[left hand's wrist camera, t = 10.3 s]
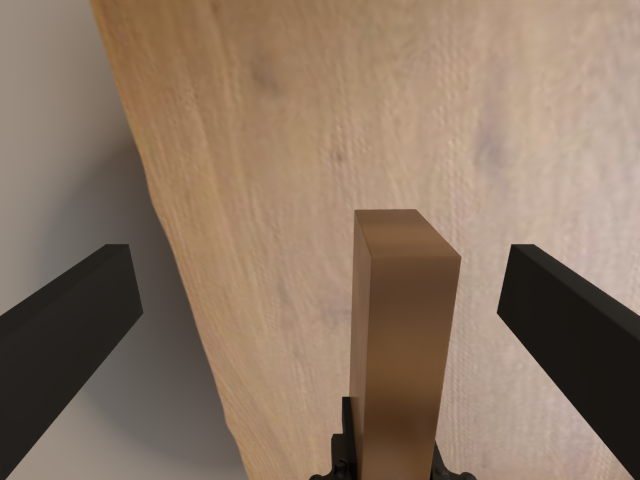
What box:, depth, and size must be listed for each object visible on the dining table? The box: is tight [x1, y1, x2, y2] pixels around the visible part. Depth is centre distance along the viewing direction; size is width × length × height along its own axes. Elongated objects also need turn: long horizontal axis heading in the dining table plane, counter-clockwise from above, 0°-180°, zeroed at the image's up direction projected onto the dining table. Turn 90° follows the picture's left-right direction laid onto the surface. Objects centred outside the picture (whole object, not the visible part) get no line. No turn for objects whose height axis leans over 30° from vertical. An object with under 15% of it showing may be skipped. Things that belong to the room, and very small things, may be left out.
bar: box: [349, 209, 461, 480], centre depth 27 cm, size 23×5×9 cm, turn 0°
